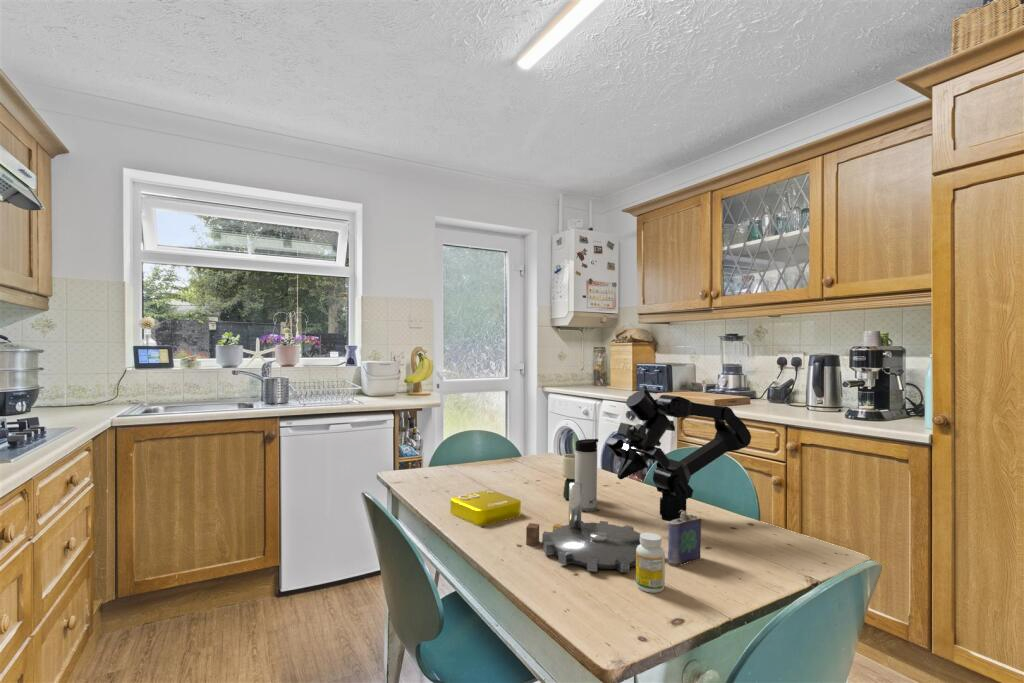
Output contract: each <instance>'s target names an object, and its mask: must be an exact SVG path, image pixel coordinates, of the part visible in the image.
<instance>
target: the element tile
mask: <svg viewBox="0 0 1024 683" xmlns="http://www.w3.org/2000/svg"><path fill="white" fill-rule="evenodd" d="M449 503H450V506H449V507H450V510H449V511H450V514H451V515H452V516H456V518H460V519H462V520H464V521H466V522H469V523H470V524H474V525H476V526H487V525H488V526H489V525H491V524H496V523H499V521H500V522H503V521H506V520H505V519H507V520H510V519H509V518H511V519H514V518H518V517H520V516H521V515H520V514H521V507H522V506H521V505H522V504H521V500H520V499H519V498H516V497H512V496H509V495H506V494H504V493H500V492H498V491H495V490H491V489H485V490H480V491H477V492H471V493H466V494H461V495H458V496H453V497H451V498H450V502H449ZM519 515H520V516H519ZM517 516H518V517H517ZM513 517H514V518H513ZM502 520H503V521H502ZM495 522H496V523H495Z"/></svg>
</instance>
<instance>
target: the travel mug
mask: <svg viewBox="0 0 1024 683" xmlns="http://www.w3.org/2000/svg"><path fill="white" fill-rule="evenodd" d="M599 442H600V441H599V439H598V438H585V439H578V440H576V441H575V444H574V445H575V451H574V452H575V453H574V454H575V482H579V483H582V505H581V512H582V511H586V512H585V513H590V512H589V511H592V512H595V511H596V510H597V498H598V497H597V494H598V493H597V492H598V491H597V490H598V489H597V488H598V487H597V486H598V484H597V483H598V448H597V447H598V445H597V444H598V443H599Z"/></svg>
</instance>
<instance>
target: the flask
mask: <svg viewBox="0 0 1024 683" xmlns="http://www.w3.org/2000/svg"><path fill="white" fill-rule="evenodd" d="M681 511H683V512H681ZM680 512H681V515H680V518H678V519H675V520H668V522H667V523H668V535H667V536H668V537H667V539H668V548H667V563H669V564H670V565H669V566H672V567H680V565H681V564H682V565H685V564H684V563H687V562H689V563H690V561H693V562H695V561H694V560H696V561H700V560H701V545H702V544H701V543H702V538H701V536H702V535H701V534H702V518H701V517H700V516H697V515H694V514H689V515H688V512H687V510H686V511H684V510H680ZM699 559H700V560H699ZM687 564H688V563H687ZM678 565H679V566H678ZM682 565H681V566H682Z"/></svg>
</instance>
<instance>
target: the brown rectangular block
mask: <svg viewBox="0 0 1024 683" xmlns="http://www.w3.org/2000/svg"><path fill="white" fill-rule="evenodd" d="M525 529H526V530H525V532H526V533H525V535H526V536H525V538H526V539H525V540H526V541H525V542H526V543H525V545H526V546H535V547H536V546H537V545H538V543H539V542H540V524H539V523H531V522H529V523H528V525H526V528H525Z"/></svg>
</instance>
